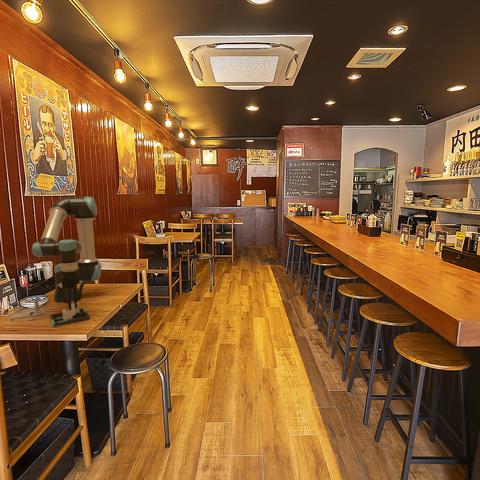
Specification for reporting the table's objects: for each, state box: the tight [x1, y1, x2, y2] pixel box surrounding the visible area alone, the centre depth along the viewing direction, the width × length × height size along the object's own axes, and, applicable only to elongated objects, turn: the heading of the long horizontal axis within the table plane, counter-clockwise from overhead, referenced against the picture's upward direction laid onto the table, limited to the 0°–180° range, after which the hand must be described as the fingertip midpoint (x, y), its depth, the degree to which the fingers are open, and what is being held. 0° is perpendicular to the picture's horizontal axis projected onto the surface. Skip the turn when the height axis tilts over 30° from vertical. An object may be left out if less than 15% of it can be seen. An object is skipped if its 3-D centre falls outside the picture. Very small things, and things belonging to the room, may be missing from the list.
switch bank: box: [49, 307, 90, 328], centre depth 161 cm, size 17×16×3 cm
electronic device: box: [10, 298, 45, 323], centre depth 164 cm, size 5×10×15 cm
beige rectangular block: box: [75, 301, 80, 313], centre depth 166 cm, size 4×4×7 cm
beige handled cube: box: [61, 307, 73, 321], centre depth 157 cm, size 4×4×7 cm
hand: (73, 314), depth 158 cm, fingers closed
